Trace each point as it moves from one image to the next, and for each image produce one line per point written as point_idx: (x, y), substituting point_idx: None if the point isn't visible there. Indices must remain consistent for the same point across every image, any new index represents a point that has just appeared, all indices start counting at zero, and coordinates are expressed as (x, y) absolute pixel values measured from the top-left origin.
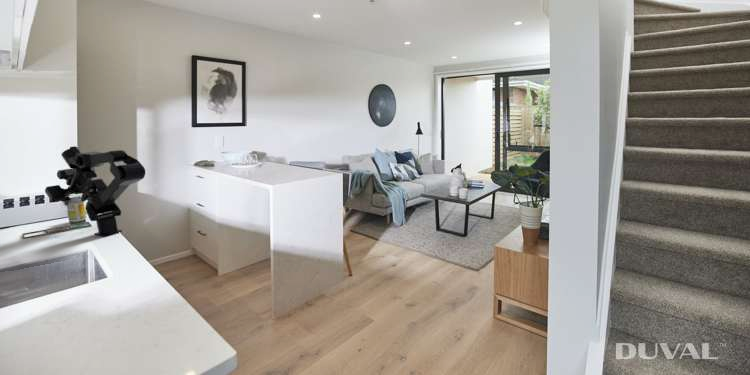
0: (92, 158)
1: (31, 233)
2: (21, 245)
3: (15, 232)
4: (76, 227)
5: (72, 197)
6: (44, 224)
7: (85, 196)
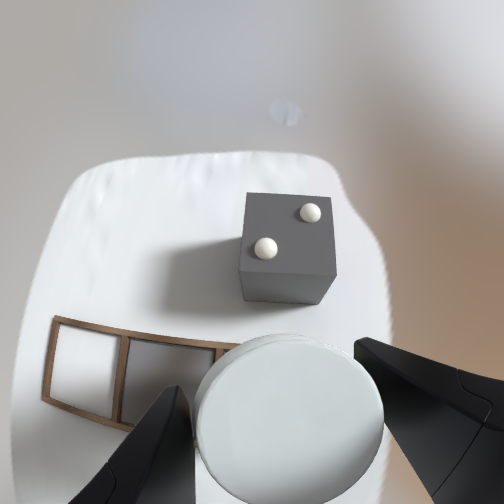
0: None
1: (79, 326)
2: (40, 488)
3: (63, 243)
4: None
5: (257, 498)
6: (163, 191)
7: (427, 459)
